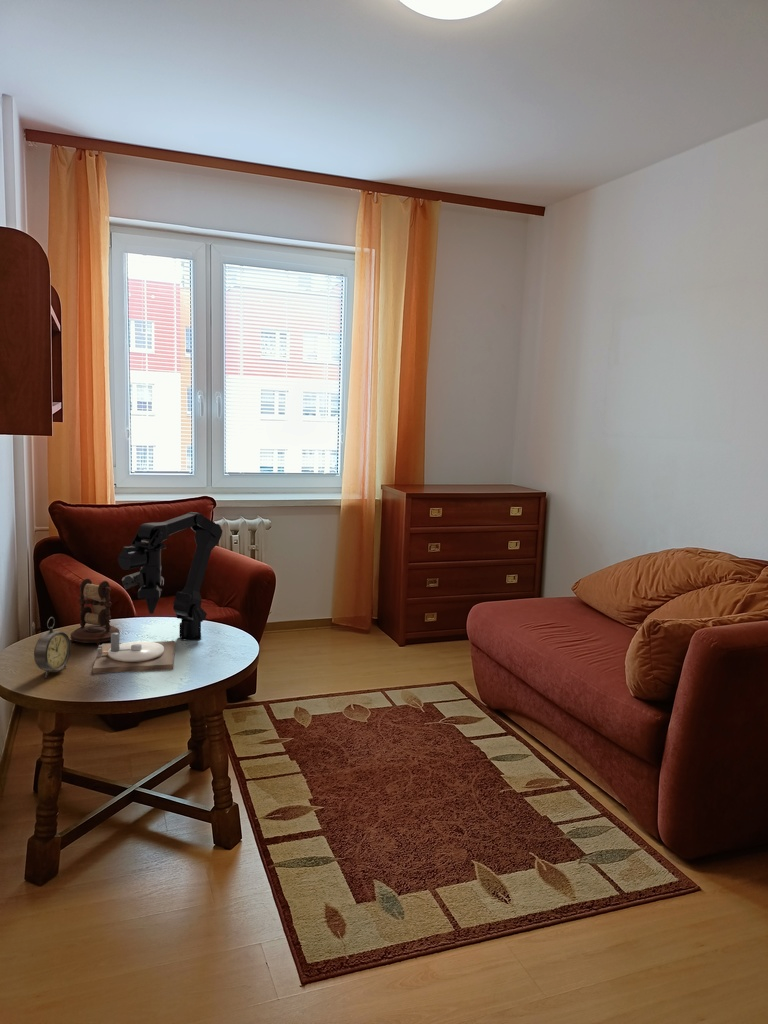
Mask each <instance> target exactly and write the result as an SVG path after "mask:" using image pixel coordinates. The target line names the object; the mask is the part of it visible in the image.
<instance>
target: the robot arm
mask: <svg viewBox="0 0 768 1024" xmlns="http://www.w3.org/2000/svg"><path fill="white" fill-rule="evenodd" d="M189 528H190V529H191V530H192V531H193V532H194V533H195V534H194V541H195V544H196V548H195V551H194V554H193V558H192V561H191V564H190V565H191V566H190V569H189V572H188V575H187V578H186V583H185V586H184V587H183V589H182V590H181V591H176V593H175V596H174V601H173V602H172V604H173V611H174V613H175V616H176V619H180V621H181V622H179V637H180V640H181V639H195V640H202V622H203V621H205V620H206V619H207V615H208V614H207V612H206V611H205V610H204V609H203V607H201V606H202V595H201V592H200V591H201V588H202V584H203V581H204V578H205V574H206V570H207V567H208V564H209V559H210V557H211V552H212V550H213V549H214V548H215V547H216V546H217V545H218V544H219V543H220V540H221V538H222V535H223V529H222V527H221V525H220V524H218V523H216V522H214V521H212V520H211V519H209V518H208V517H206V516H205V515H203V514H202V513H200V512H193V511H190V512H187V513H186V514H185V513H184V514H182V515H180V516H176V517H174V518H171V519H168V520H165V521H160V522H147V523H146V522H145V523H142V524H141V525H139V528H138V530H137V532H136V534H135V536H134V538H133V539H132V541H131V543H130V545H129V546H123V547H122V551H121V552H120V553H119V555H118V557H117V563H118V566H119V567H120V568H121V569H122V570H124V571H127V570H133V569H138V568H140V569H139V571H137V572H134V573H131V574H127V575H125V576H123V577H122V579H121V583H122V584H121V585H122V586H123V587H124V590H128V589H130V588H132V587H136V586H138V585H139V587H140V588H139V589H138V591H137V599H145V602H146V605H147V609H148V614H149V615H152V614H153V615H154V612H155V610H156V608H157V605H158V602H159V600H160V598H161V594H162V593H163V589H162V588H160V586H162V587H163V586H164V584H165V578H164V577H163V576H162V550H165V549H167V546H166V545H165V544H164V543H163V542H165V541H166V540H168V538H169V537H170V536H172V535H173V534H175V533H178V532H180V531H184V530H186V529H189Z"/></svg>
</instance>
